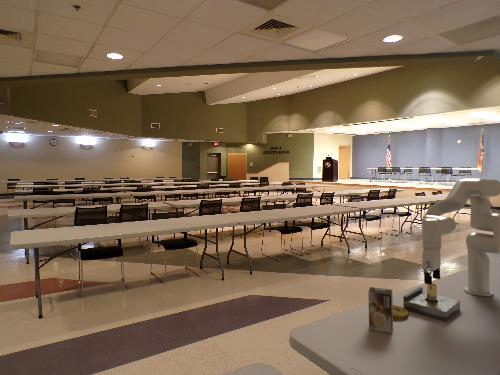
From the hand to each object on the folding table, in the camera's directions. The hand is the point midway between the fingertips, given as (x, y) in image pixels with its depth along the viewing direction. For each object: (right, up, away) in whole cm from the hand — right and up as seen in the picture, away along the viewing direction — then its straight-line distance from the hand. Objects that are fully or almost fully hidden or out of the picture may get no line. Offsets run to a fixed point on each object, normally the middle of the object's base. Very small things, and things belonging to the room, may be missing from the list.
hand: (432, 281), depth 154 cm
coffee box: (-31, -15, -17) cm, 38 cm away
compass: (-20, -15, -3) cm, 25 cm away
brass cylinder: (0, -12, 0) cm, 12 cm away
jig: (0, -14, 0) cm, 14 cm away
